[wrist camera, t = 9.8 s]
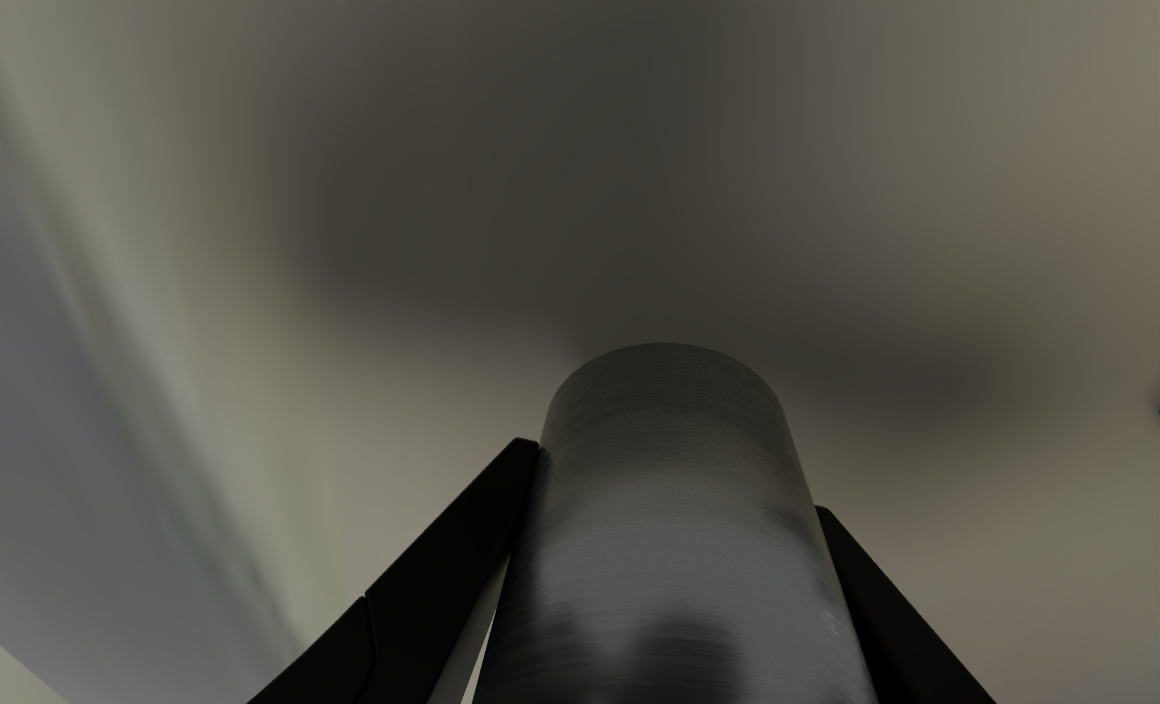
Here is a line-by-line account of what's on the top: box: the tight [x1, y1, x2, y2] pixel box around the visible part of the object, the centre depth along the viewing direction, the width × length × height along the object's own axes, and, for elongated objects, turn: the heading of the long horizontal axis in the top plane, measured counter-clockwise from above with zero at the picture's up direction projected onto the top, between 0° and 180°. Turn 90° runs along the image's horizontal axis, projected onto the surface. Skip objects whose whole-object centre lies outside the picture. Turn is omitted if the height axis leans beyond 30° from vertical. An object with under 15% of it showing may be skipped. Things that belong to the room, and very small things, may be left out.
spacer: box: [472, 343, 880, 704], centre depth 7 cm, size 4×4×5 cm
